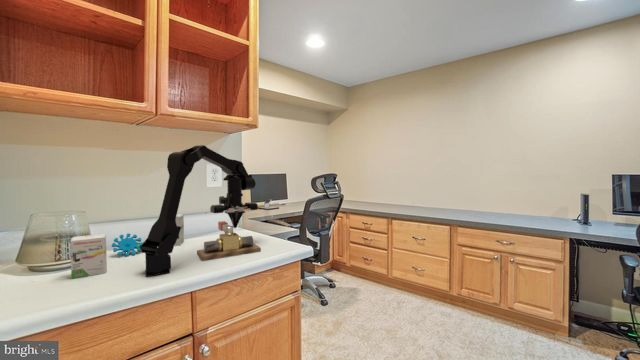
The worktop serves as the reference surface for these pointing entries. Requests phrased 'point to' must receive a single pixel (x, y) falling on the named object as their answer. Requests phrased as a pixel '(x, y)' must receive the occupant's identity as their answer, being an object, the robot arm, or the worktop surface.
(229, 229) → the valve lever
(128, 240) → the blue spiky virus toy
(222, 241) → the valve pipe
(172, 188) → the robot arm
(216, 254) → the mount board
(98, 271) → the white pink medicine box
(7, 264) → the worktop surface
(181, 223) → the supplement box
